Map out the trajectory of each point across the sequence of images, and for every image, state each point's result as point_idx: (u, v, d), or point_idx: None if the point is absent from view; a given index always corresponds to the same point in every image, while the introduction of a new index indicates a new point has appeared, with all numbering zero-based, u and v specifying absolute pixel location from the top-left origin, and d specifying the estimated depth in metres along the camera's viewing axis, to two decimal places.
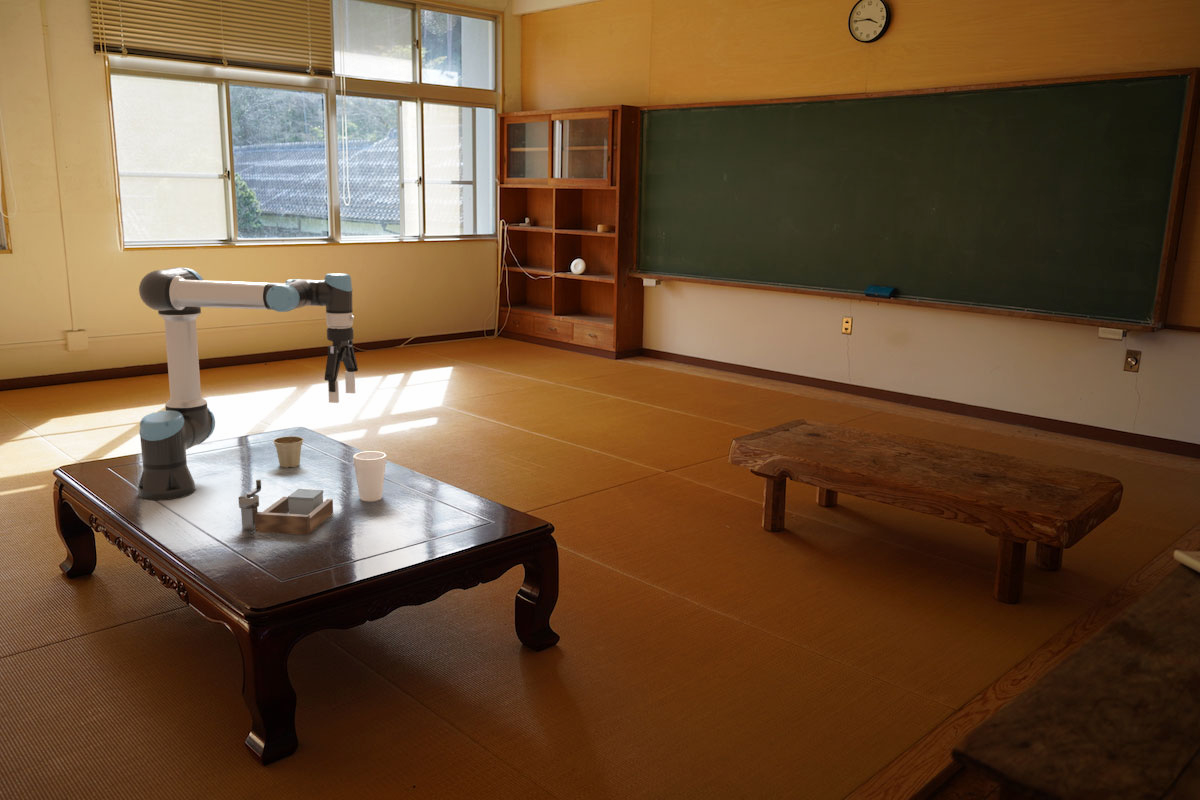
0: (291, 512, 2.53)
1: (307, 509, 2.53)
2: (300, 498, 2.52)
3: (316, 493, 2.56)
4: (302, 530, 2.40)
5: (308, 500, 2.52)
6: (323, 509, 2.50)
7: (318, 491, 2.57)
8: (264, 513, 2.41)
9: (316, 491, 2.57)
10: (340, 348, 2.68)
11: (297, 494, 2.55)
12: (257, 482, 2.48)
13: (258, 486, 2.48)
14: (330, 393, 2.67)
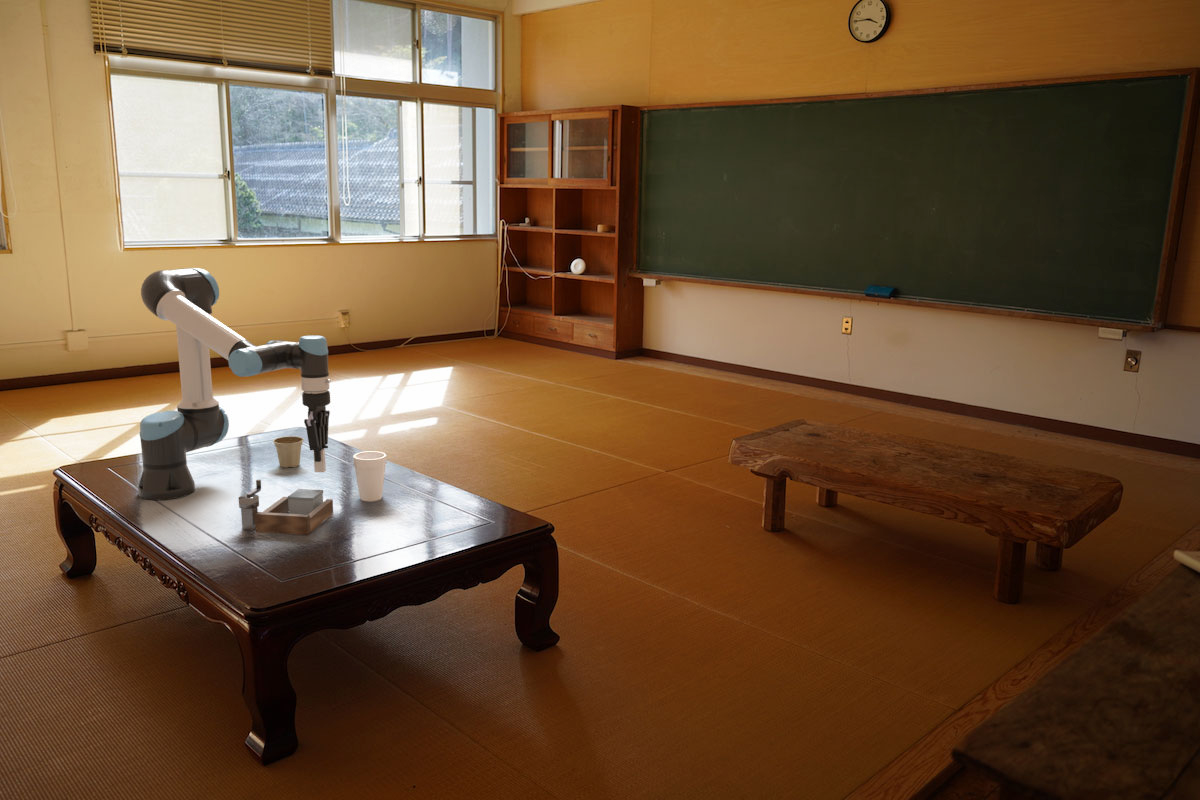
0: (291, 512, 2.53)
1: (307, 509, 2.53)
2: (300, 498, 2.52)
3: (316, 493, 2.56)
4: (302, 530, 2.40)
5: (308, 500, 2.52)
6: (323, 509, 2.50)
7: (318, 491, 2.57)
8: (264, 513, 2.41)
9: (316, 491, 2.57)
10: (316, 413, 2.58)
11: (297, 494, 2.55)
12: (257, 482, 2.48)
13: (258, 486, 2.48)
14: (316, 463, 2.63)
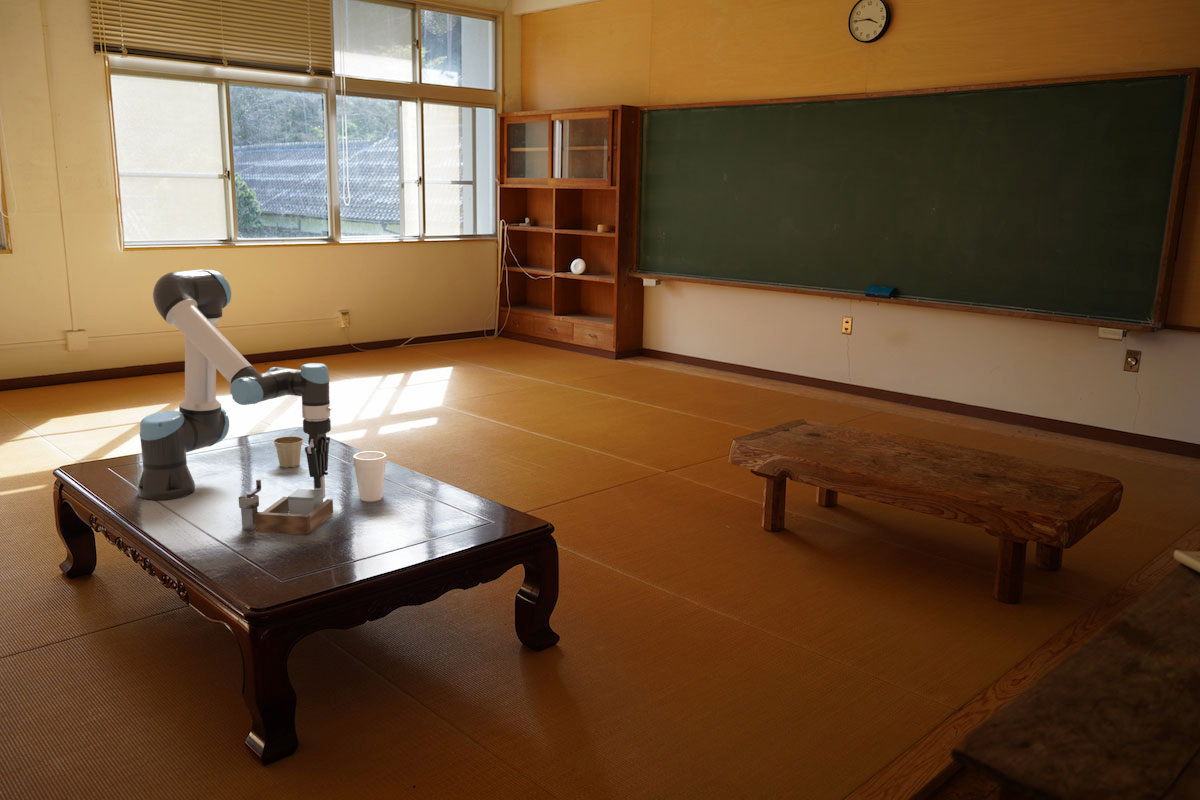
0: (291, 512, 2.53)
1: (307, 509, 2.53)
2: (300, 498, 2.52)
3: (316, 493, 2.56)
4: (302, 530, 2.40)
5: (308, 500, 2.52)
6: (323, 509, 2.50)
7: (318, 491, 2.57)
8: (264, 513, 2.41)
9: (316, 491, 2.57)
10: (317, 441, 2.59)
11: (297, 494, 2.55)
12: (257, 482, 2.48)
13: (258, 486, 2.48)
14: (315, 489, 2.65)
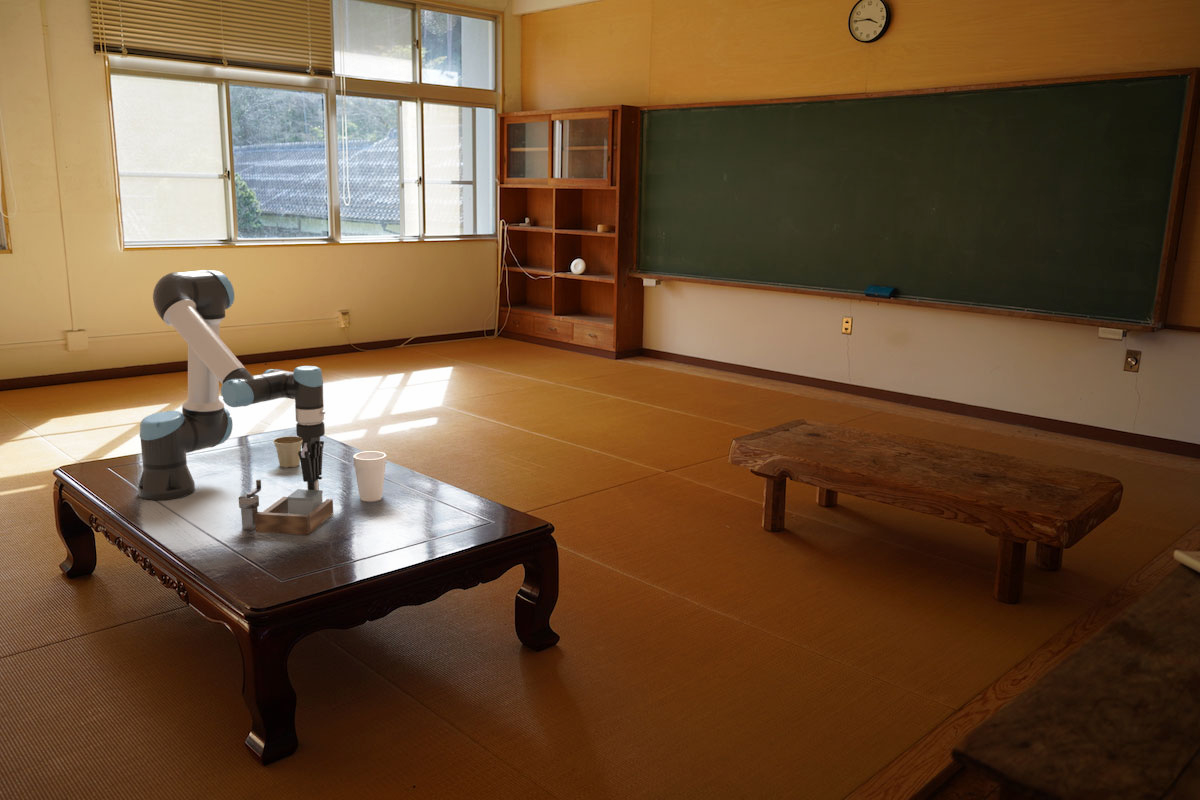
0: (290, 512, 2.53)
1: (307, 509, 2.52)
2: (300, 498, 2.51)
3: (315, 493, 2.55)
4: (302, 530, 2.40)
5: (308, 500, 2.52)
6: (323, 509, 2.50)
7: (317, 491, 2.57)
8: (264, 513, 2.41)
9: (315, 491, 2.57)
10: (310, 445, 2.55)
11: (297, 494, 2.54)
12: (257, 482, 2.48)
13: (258, 486, 2.48)
14: None
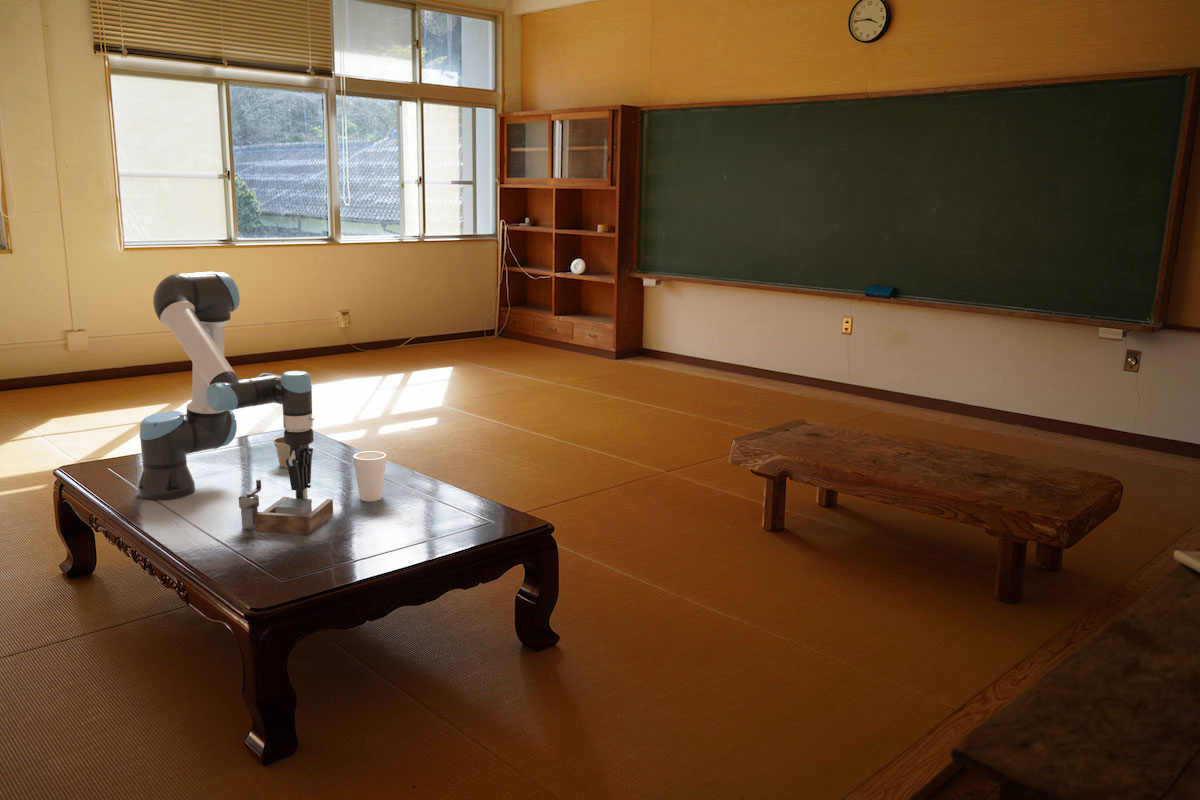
0: None
1: None
2: (288, 508, 2.44)
3: (304, 502, 2.47)
4: (302, 530, 2.40)
5: (296, 510, 2.44)
6: (323, 509, 2.50)
7: (306, 500, 2.49)
8: (264, 513, 2.41)
9: (304, 500, 2.49)
10: (298, 453, 2.47)
11: (285, 503, 2.46)
12: (257, 482, 2.48)
13: (258, 486, 2.48)
14: None
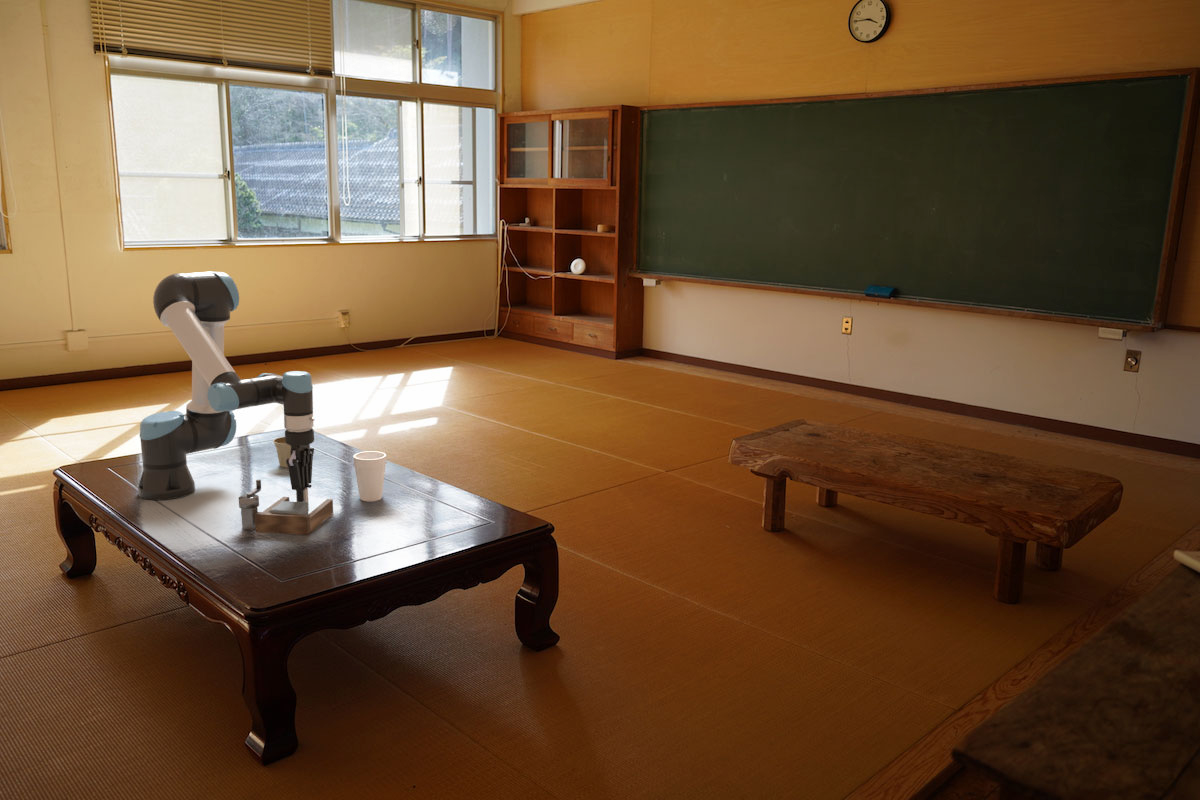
0: None
1: None
2: (284, 511, 2.41)
3: (301, 506, 2.45)
4: (302, 530, 2.40)
5: (293, 513, 2.41)
6: (323, 509, 2.50)
7: (303, 504, 2.47)
8: (264, 513, 2.41)
9: (301, 504, 2.47)
10: (299, 452, 2.48)
11: (281, 507, 2.44)
12: (257, 482, 2.48)
13: (258, 486, 2.48)
14: None
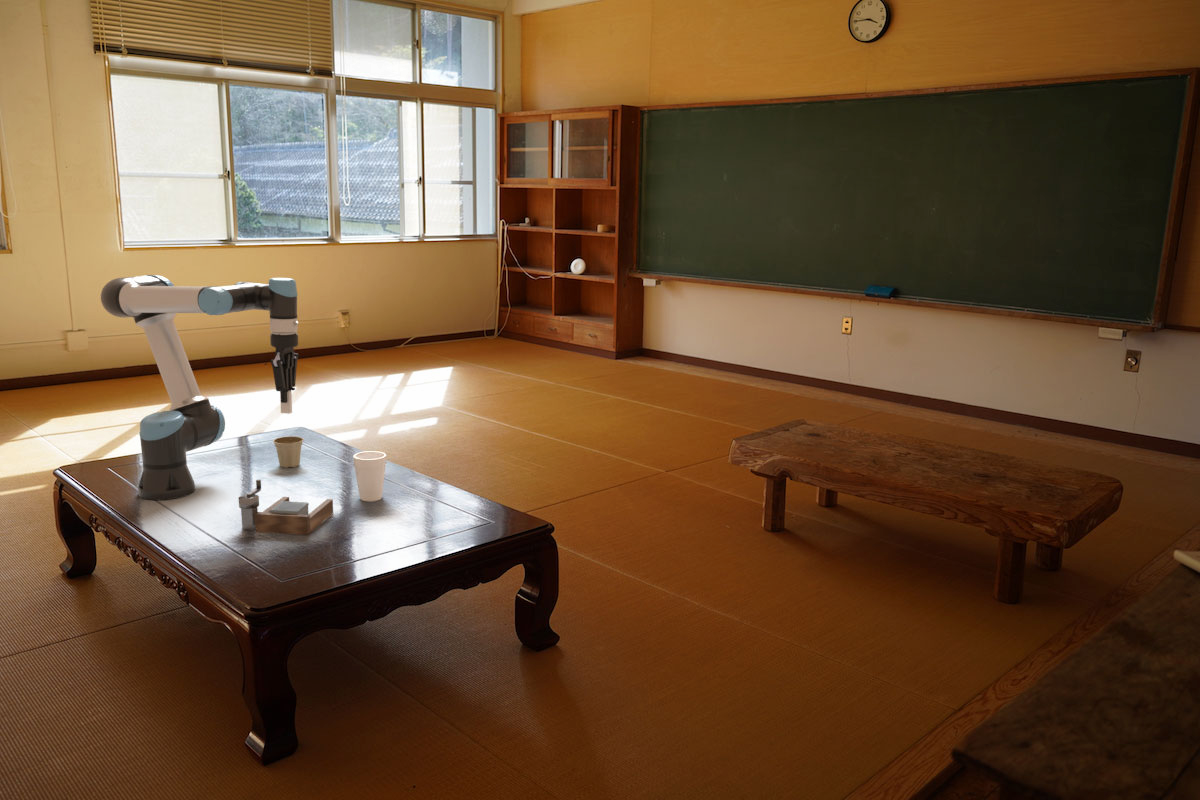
0: None
1: None
2: (284, 511, 2.41)
3: (301, 506, 2.45)
4: (302, 530, 2.40)
5: (293, 513, 2.41)
6: (323, 509, 2.50)
7: (303, 504, 2.47)
8: (264, 513, 2.41)
9: (301, 504, 2.47)
10: (283, 355, 2.62)
11: (281, 507, 2.44)
12: (257, 482, 2.48)
13: (258, 486, 2.48)
14: (282, 404, 2.67)
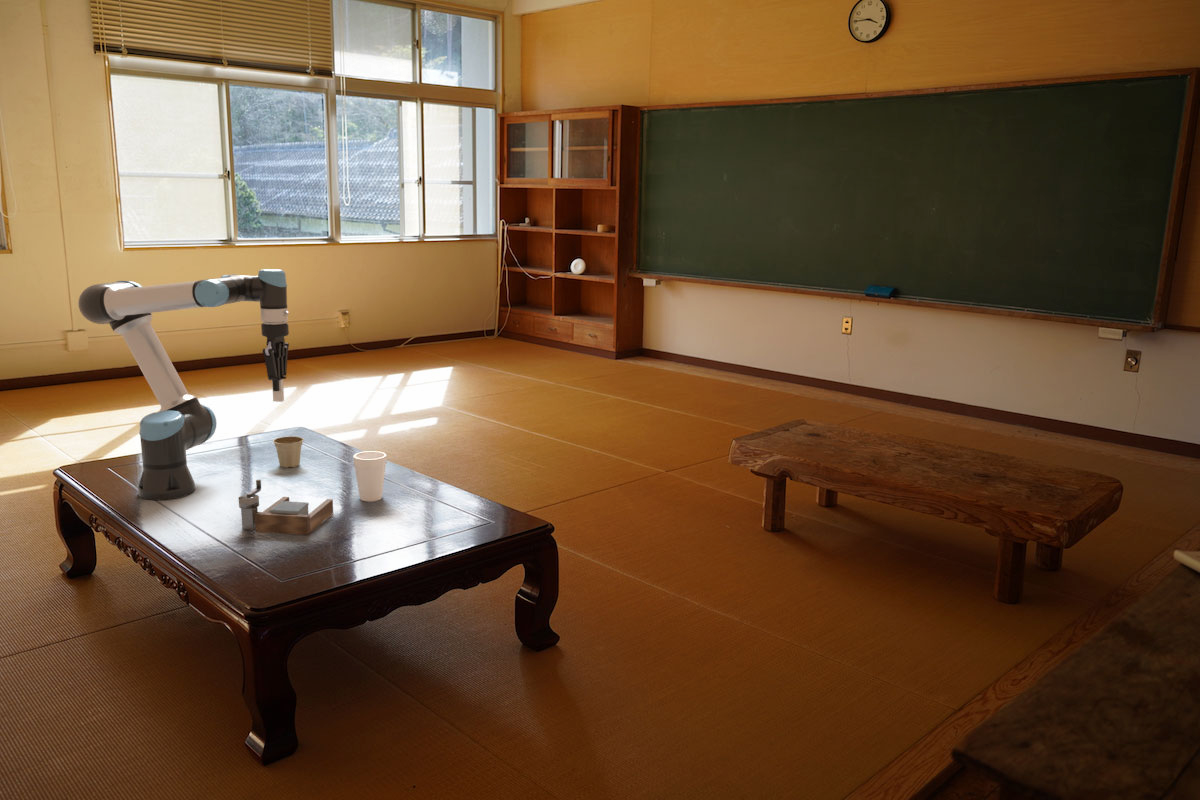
0: None
1: None
2: (284, 511, 2.41)
3: (301, 506, 2.45)
4: (302, 530, 2.40)
5: (293, 513, 2.41)
6: (323, 509, 2.50)
7: (303, 504, 2.47)
8: (264, 513, 2.41)
9: (301, 504, 2.47)
10: (274, 344, 2.68)
11: (281, 507, 2.44)
12: (257, 482, 2.48)
13: (258, 486, 2.48)
14: (274, 392, 2.74)
